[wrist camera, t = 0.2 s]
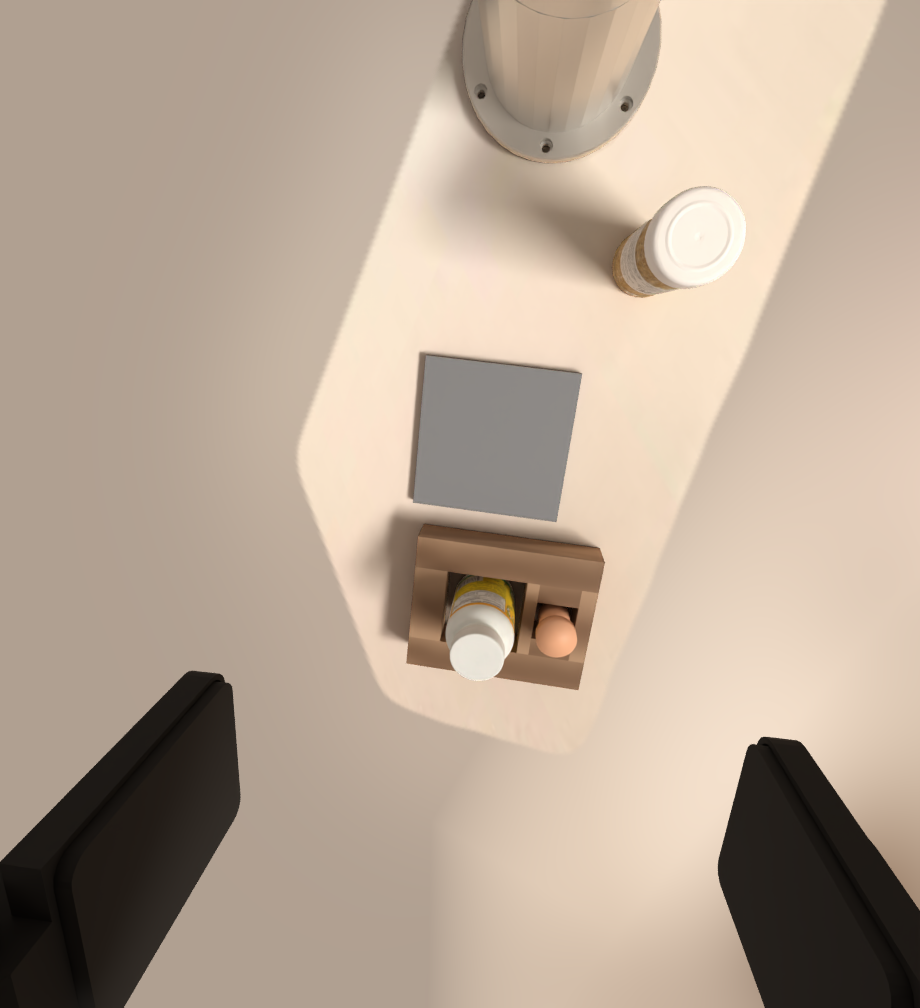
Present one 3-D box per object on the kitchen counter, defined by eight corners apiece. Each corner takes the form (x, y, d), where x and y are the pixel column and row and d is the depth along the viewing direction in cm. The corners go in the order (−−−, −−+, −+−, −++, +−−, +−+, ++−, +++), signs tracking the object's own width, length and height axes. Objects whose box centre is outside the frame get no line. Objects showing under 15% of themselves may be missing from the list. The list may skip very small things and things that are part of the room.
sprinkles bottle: (685, 240, 39) (765, 198, 26) (661, 306, 41) (725, 297, 28) (623, 222, 39) (672, 172, 26) (601, 288, 41) (637, 272, 28)
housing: (423, 523, 48) (417, 536, 45) (599, 548, 47) (604, 562, 44) (412, 644, 51) (406, 663, 49) (575, 669, 51) (578, 690, 48)
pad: (427, 355, 43) (425, 355, 43) (581, 373, 43) (582, 373, 42) (414, 500, 47) (413, 502, 47) (555, 519, 46) (556, 522, 46)
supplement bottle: (466, 559, 48) (454, 614, 39) (524, 581, 48) (525, 640, 39) (446, 610, 50) (430, 674, 41) (502, 631, 50) (498, 699, 41)
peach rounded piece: (537, 595, 47) (539, 618, 43) (575, 600, 47) (580, 624, 43) (532, 628, 48) (533, 654, 44) (569, 633, 48) (573, 660, 44)
